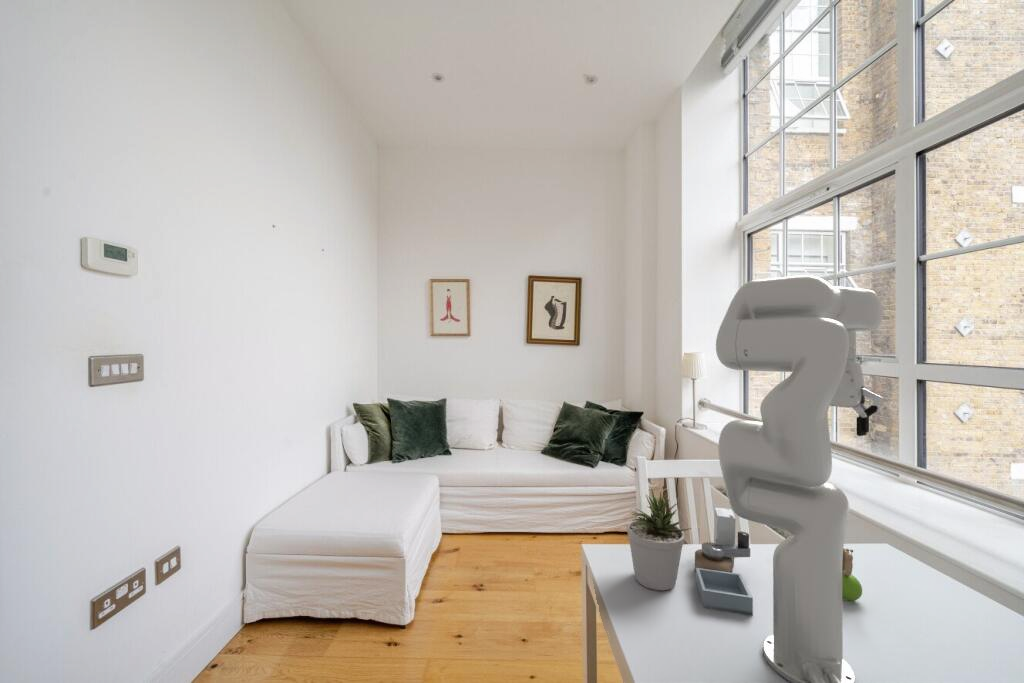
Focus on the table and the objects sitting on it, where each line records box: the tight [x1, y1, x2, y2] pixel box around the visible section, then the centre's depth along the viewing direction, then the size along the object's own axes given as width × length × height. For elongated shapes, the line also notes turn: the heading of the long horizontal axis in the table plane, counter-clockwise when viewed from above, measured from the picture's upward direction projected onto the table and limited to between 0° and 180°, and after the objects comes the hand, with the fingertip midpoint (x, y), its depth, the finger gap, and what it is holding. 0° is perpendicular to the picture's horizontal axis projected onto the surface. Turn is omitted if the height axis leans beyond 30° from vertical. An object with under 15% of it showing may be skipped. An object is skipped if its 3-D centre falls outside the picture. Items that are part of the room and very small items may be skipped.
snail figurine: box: [842, 547, 863, 602], centre depth 89 cm, size 5×6×12 cm
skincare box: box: [713, 507, 737, 567], centre depth 105 cm, size 6×4×12 cm
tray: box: [695, 568, 754, 616], centre depth 89 cm, size 9×9×4 cm
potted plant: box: [626, 489, 692, 591], centre depth 95 cm, size 13×14×20 cm
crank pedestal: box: [694, 548, 733, 573], centre depth 99 cm, size 9×8×4 cm
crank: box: [701, 531, 751, 561], centre depth 99 cm, size 11×5×5 cm, turn 94°
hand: (834, 431), depth 93 cm, fingers open, 9 cm apart
